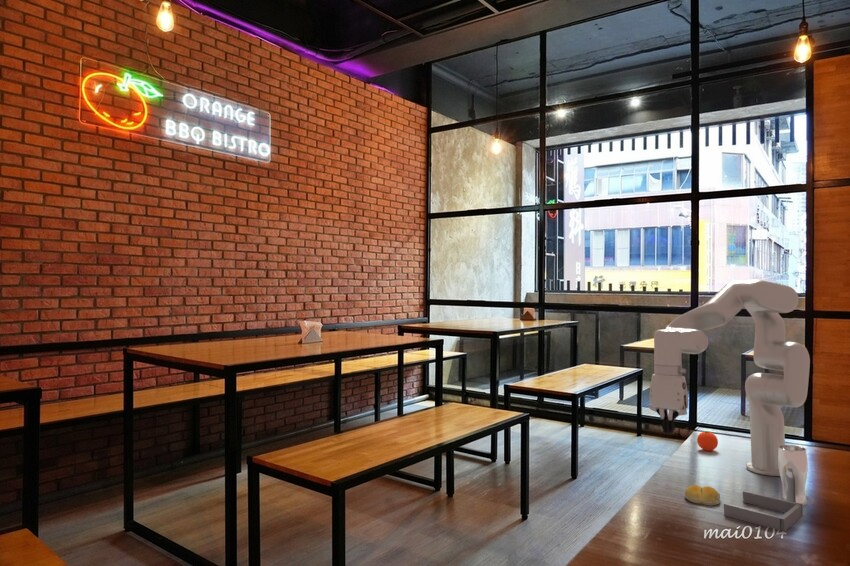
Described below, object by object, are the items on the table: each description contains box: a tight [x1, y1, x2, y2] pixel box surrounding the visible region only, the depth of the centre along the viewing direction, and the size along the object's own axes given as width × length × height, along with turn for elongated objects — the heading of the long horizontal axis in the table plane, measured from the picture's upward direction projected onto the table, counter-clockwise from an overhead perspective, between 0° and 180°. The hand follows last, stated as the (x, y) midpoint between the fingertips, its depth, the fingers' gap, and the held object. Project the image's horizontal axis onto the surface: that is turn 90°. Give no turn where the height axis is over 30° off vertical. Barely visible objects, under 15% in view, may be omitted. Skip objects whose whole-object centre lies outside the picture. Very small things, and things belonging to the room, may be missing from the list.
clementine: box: [696, 430, 719, 452], centre depth 204 cm, size 8×7×7 cm
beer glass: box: [778, 444, 809, 507], centre depth 154 cm, size 7×7×15 cm
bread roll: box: [684, 484, 721, 506], centre depth 157 cm, size 8×9×4 cm
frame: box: [723, 490, 804, 532], centre depth 145 cm, size 14×14×3 cm
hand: (668, 432), depth 165 cm, fingers closed
